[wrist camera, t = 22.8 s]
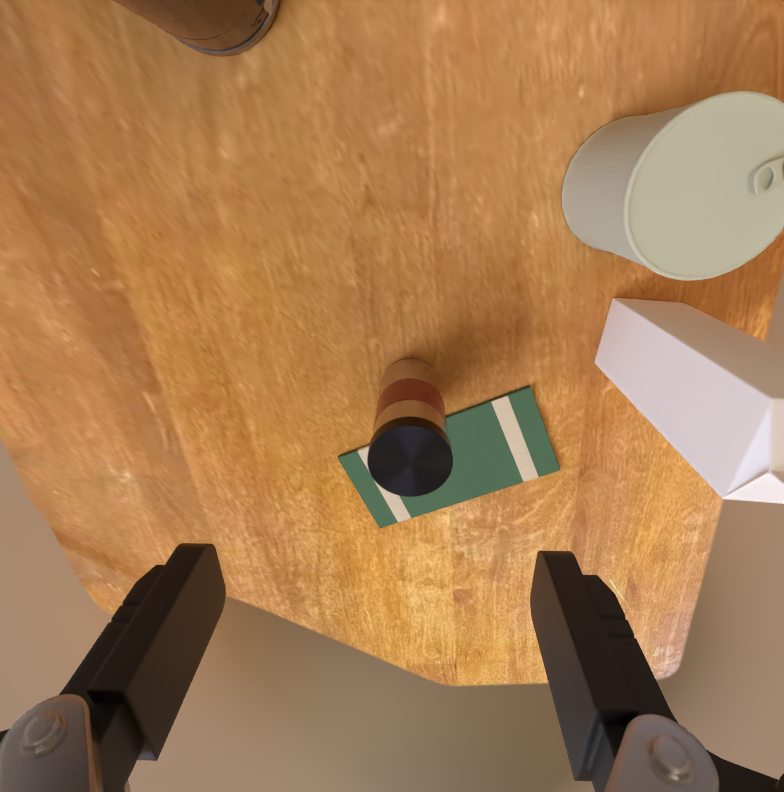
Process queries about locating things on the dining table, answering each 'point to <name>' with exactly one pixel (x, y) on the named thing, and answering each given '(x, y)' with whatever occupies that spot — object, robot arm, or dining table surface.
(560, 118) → the dining table surface
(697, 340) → the milk
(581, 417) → the dining table surface
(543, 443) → the towel
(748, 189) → the can
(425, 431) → the jar
